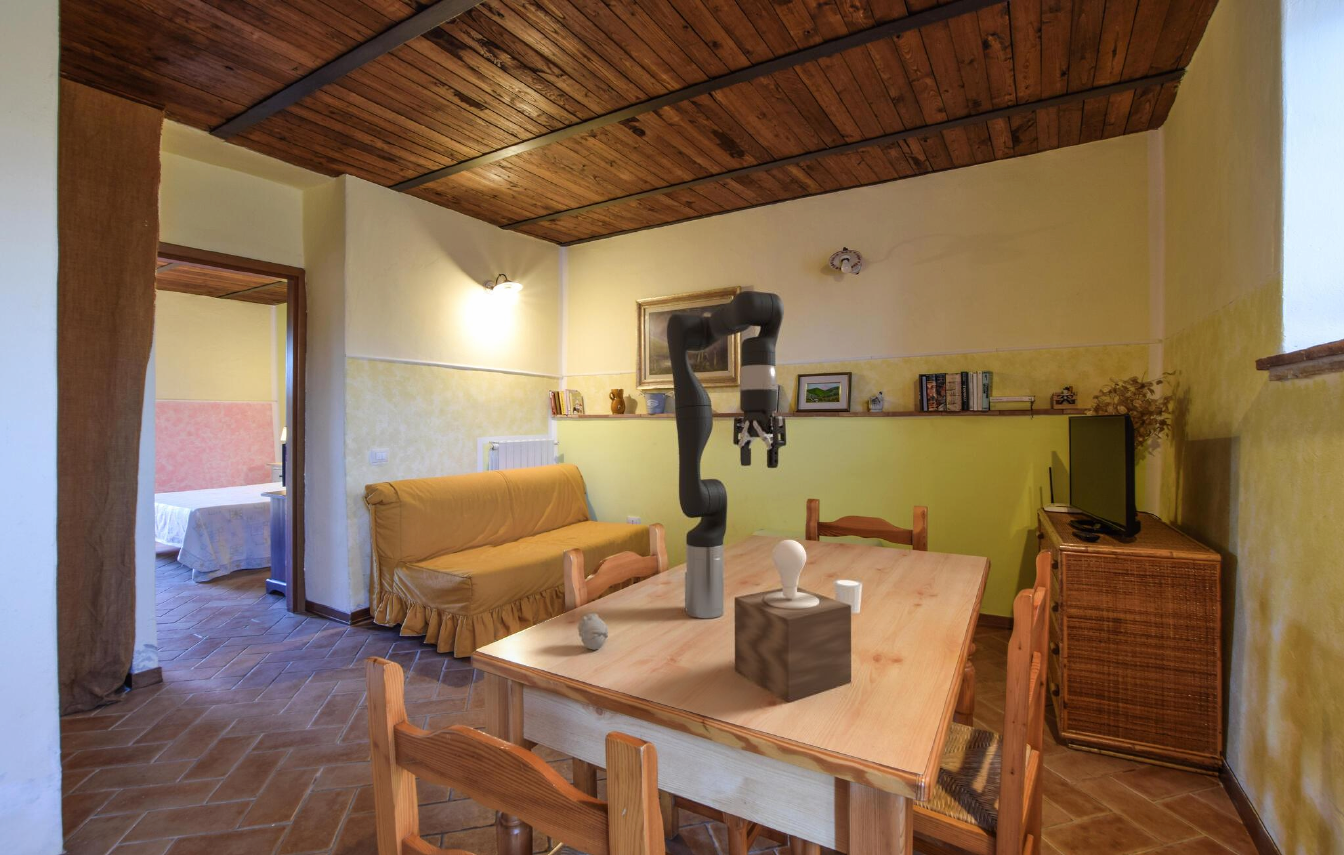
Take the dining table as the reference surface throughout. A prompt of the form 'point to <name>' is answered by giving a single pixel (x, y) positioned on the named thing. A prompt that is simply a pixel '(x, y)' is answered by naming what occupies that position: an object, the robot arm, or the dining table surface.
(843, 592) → the shot glass
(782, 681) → the lamp housing
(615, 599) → the dining table surface
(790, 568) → the lightbulb
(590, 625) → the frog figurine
